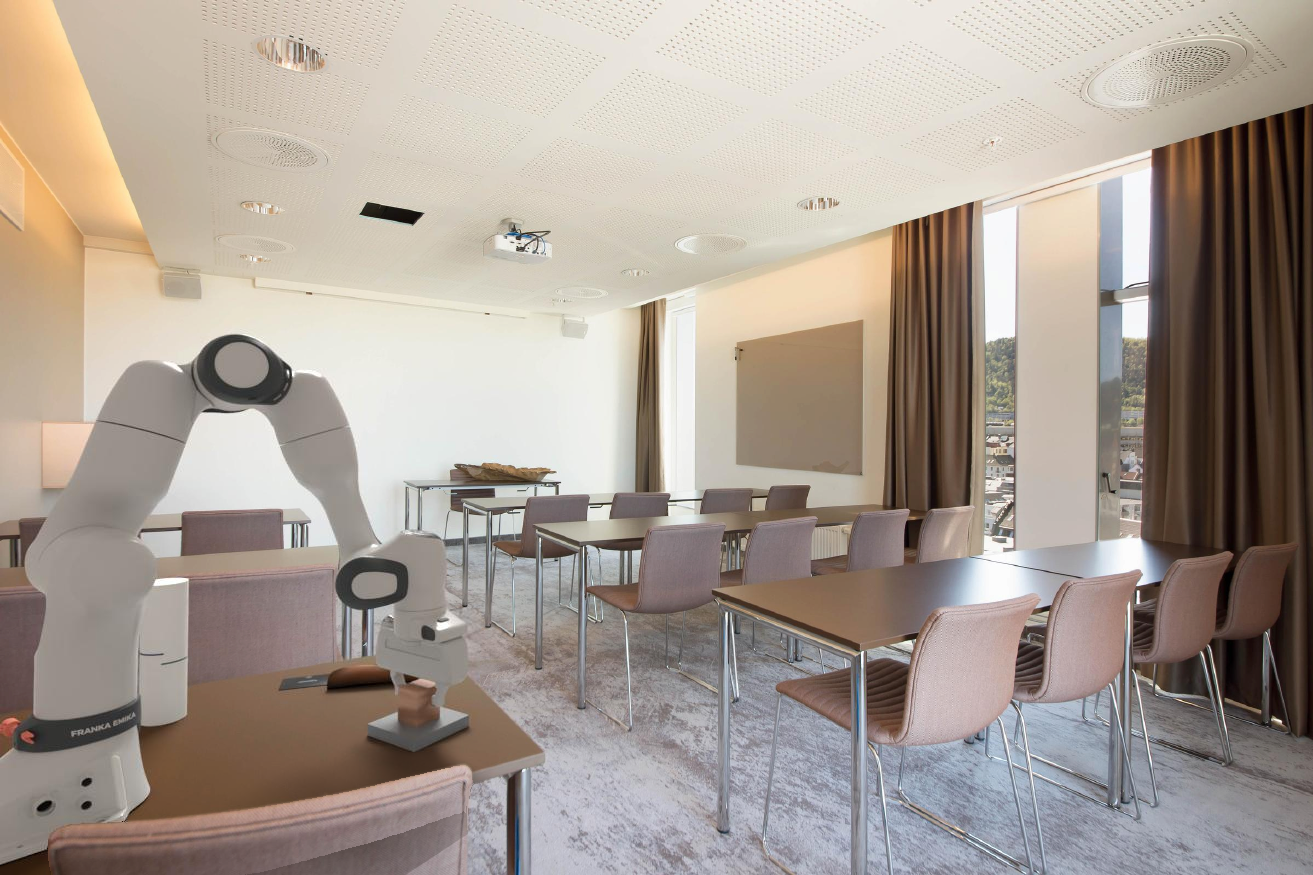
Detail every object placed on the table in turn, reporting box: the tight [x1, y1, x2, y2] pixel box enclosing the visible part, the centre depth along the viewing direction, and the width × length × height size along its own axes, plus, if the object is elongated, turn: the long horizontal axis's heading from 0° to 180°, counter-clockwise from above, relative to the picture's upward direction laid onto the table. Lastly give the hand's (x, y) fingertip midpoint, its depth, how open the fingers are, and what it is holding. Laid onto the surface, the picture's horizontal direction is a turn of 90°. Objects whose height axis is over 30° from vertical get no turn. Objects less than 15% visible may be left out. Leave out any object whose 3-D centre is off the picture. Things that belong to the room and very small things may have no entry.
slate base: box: [367, 706, 470, 753], centre depth 119 cm, size 12×12×2 cm
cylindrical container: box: [138, 577, 190, 727], centre depth 123 cm, size 7×7×25 cm
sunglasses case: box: [326, 663, 420, 690], centre depth 143 cm, size 18×7×7 cm
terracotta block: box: [397, 678, 440, 727], centre depth 119 cm, size 5×5×6 cm
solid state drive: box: [278, 673, 330, 691], centre depth 142 cm, size 7×10×1 cm
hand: (419, 700), depth 119 cm, fingers open, 8 cm apart
